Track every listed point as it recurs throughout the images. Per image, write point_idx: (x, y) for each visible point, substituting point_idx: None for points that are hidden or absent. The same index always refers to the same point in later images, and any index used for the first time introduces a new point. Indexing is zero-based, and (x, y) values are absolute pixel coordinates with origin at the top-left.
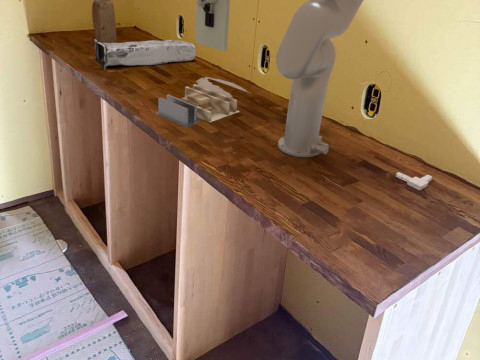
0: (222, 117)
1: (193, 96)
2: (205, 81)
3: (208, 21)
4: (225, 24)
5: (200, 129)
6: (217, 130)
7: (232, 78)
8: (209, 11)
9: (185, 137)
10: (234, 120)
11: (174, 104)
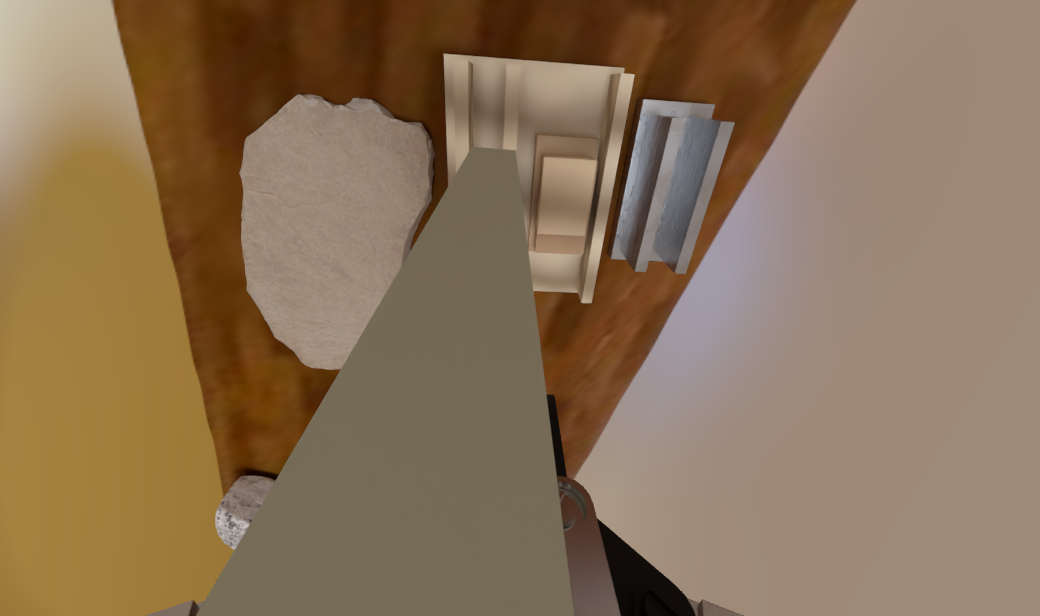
0: (550, 64)
1: (576, 213)
2: (341, 343)
3: (556, 415)
4: (510, 209)
5: (659, 79)
6: (628, 18)
7: (211, 327)
8: (591, 516)
9: (750, 68)
10: (500, 37)
11: (709, 192)
